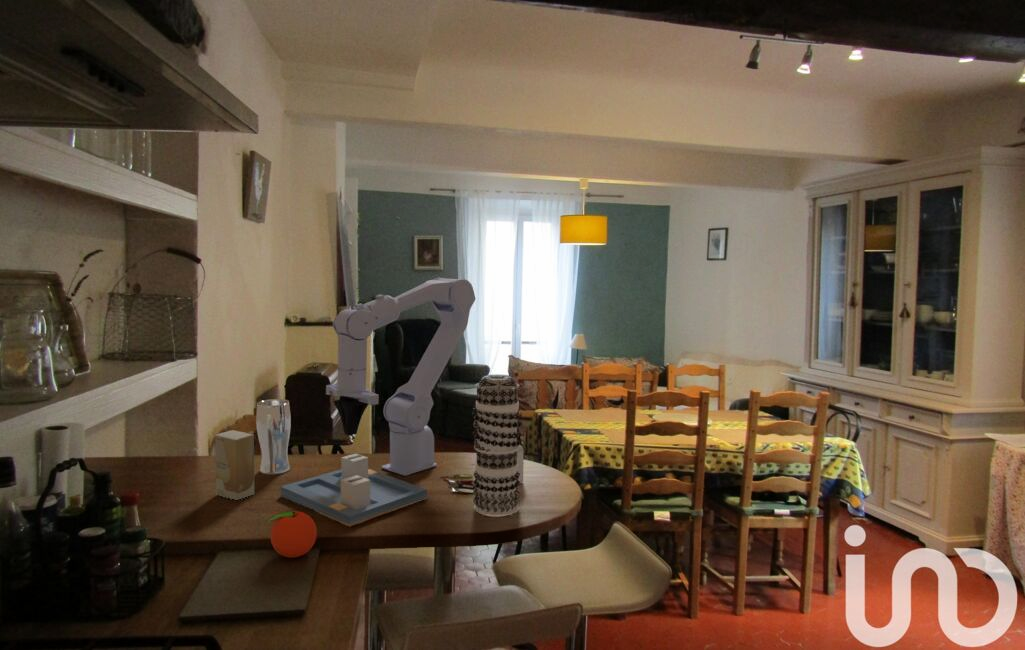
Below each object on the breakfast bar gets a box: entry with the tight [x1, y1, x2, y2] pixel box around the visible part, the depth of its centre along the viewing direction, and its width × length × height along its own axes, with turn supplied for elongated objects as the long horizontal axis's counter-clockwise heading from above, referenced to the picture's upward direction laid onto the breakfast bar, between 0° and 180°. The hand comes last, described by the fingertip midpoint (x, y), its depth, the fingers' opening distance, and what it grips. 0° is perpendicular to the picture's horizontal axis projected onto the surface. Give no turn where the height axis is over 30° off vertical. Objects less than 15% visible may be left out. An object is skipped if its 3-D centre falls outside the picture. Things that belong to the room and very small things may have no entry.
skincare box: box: [214, 429, 255, 501], centre depth 131 cm, size 6×4×12 cm
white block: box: [340, 453, 369, 479], centre depth 137 cm, size 4×4×5 cm
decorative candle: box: [471, 374, 523, 515], centre depth 125 cm, size 9×9×25 cm
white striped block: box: [341, 475, 371, 510], centre depth 124 cm, size 4×4×5 cm
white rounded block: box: [517, 444, 525, 485], centre depth 139 cm, size 4×6×12 cm
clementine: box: [263, 511, 318, 559], centre depth 106 cm, size 8×7×7 cm
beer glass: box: [255, 398, 292, 476], centre depth 146 cm, size 7×7×15 cm
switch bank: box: [280, 468, 428, 524], centre depth 131 cm, size 18×22×2 cm
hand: (350, 434), depth 139 cm, fingers closed
